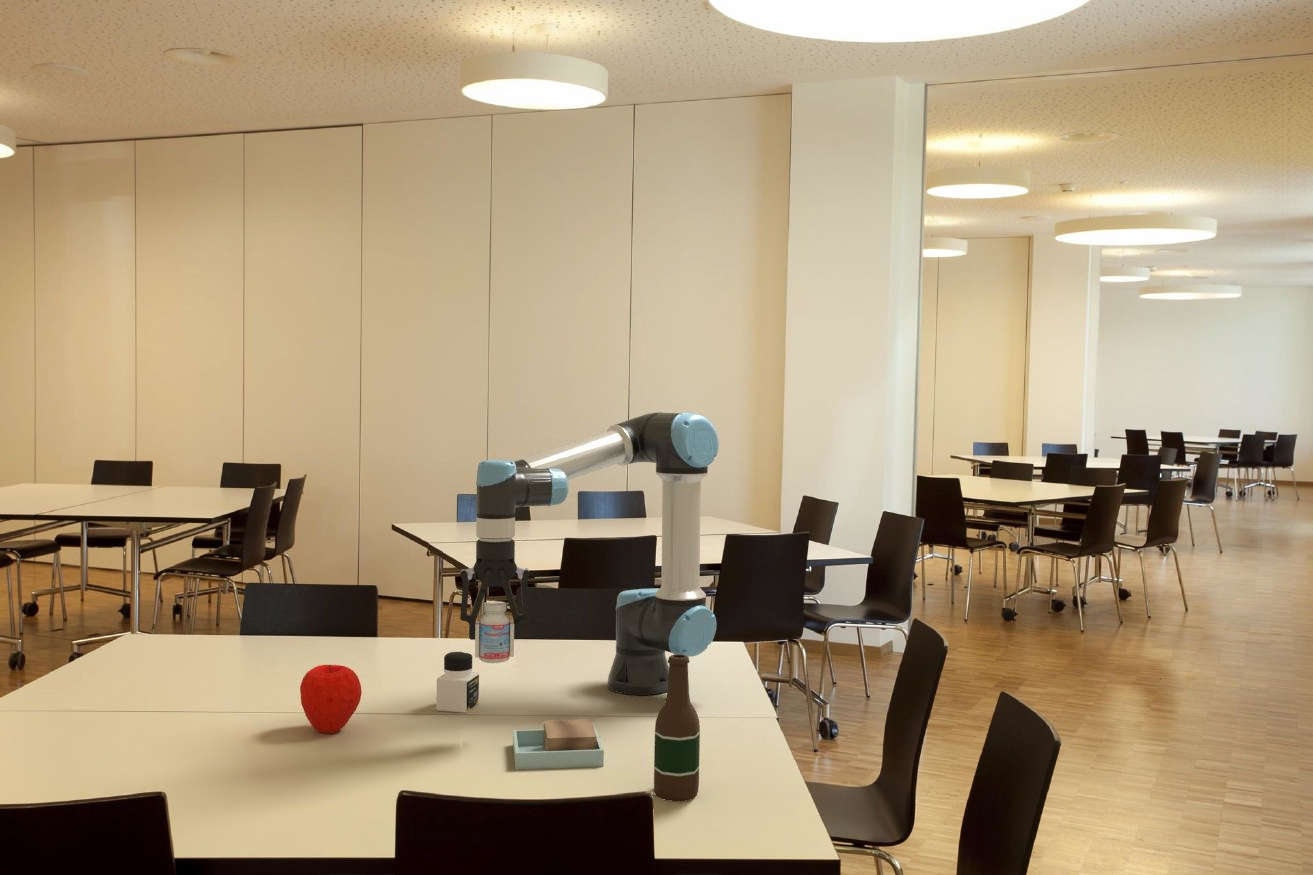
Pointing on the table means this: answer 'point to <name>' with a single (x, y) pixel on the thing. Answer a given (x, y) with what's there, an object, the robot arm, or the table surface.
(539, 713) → the table surface
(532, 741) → the light blue tray
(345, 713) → the apple
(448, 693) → the medicine bottle
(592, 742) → the walnut block
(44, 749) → the table surface
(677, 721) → the beer bottle
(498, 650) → the pill bottle
